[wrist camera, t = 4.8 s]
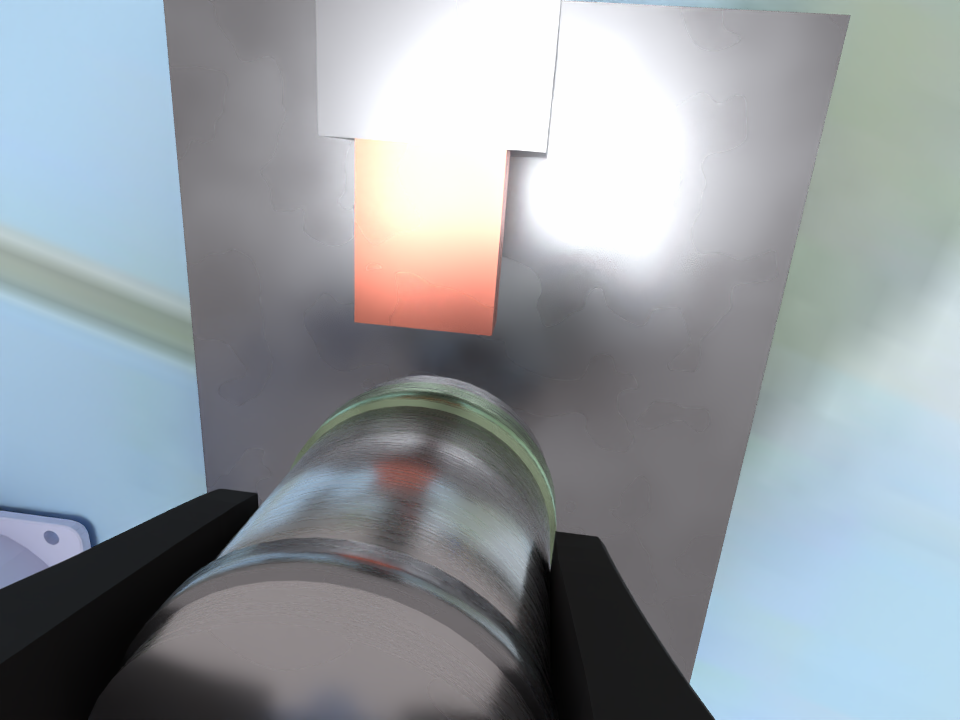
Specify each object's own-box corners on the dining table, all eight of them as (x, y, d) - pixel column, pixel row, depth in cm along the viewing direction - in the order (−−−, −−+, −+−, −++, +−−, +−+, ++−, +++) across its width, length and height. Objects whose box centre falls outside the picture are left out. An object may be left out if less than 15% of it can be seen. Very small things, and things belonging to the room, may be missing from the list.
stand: (244, 613, 20) (89, 841, 13) (201, -2, 14) (-118, -156, 7) (671, 675, 18) (739, 960, 12) (816, 32, 13) (1108, -116, 6)
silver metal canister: (316, 570, 12) (107, 932, 6) (312, 357, 10) (32, 579, 5) (541, 601, 12) (534, 1018, 6) (569, 384, 10) (595, 661, 4)
